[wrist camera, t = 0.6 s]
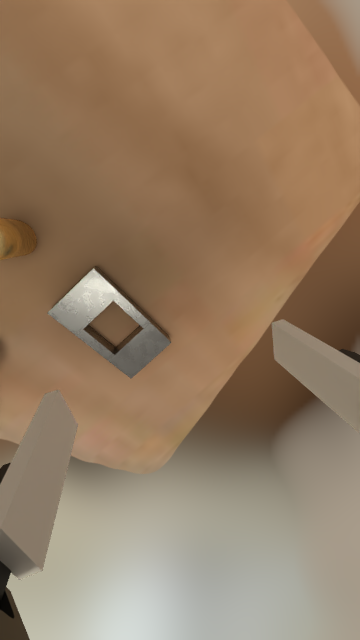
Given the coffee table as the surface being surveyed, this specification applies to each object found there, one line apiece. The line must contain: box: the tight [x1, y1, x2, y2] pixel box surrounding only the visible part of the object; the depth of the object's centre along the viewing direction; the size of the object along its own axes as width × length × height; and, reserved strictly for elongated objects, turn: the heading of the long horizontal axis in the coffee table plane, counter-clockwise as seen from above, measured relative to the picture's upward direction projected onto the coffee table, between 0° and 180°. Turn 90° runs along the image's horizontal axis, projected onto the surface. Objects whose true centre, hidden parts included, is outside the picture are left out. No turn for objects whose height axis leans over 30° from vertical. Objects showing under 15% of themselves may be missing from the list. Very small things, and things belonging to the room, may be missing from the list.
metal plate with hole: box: [48, 266, 171, 378], centre depth 36 cm, size 16×9×2 cm, turn 41°
